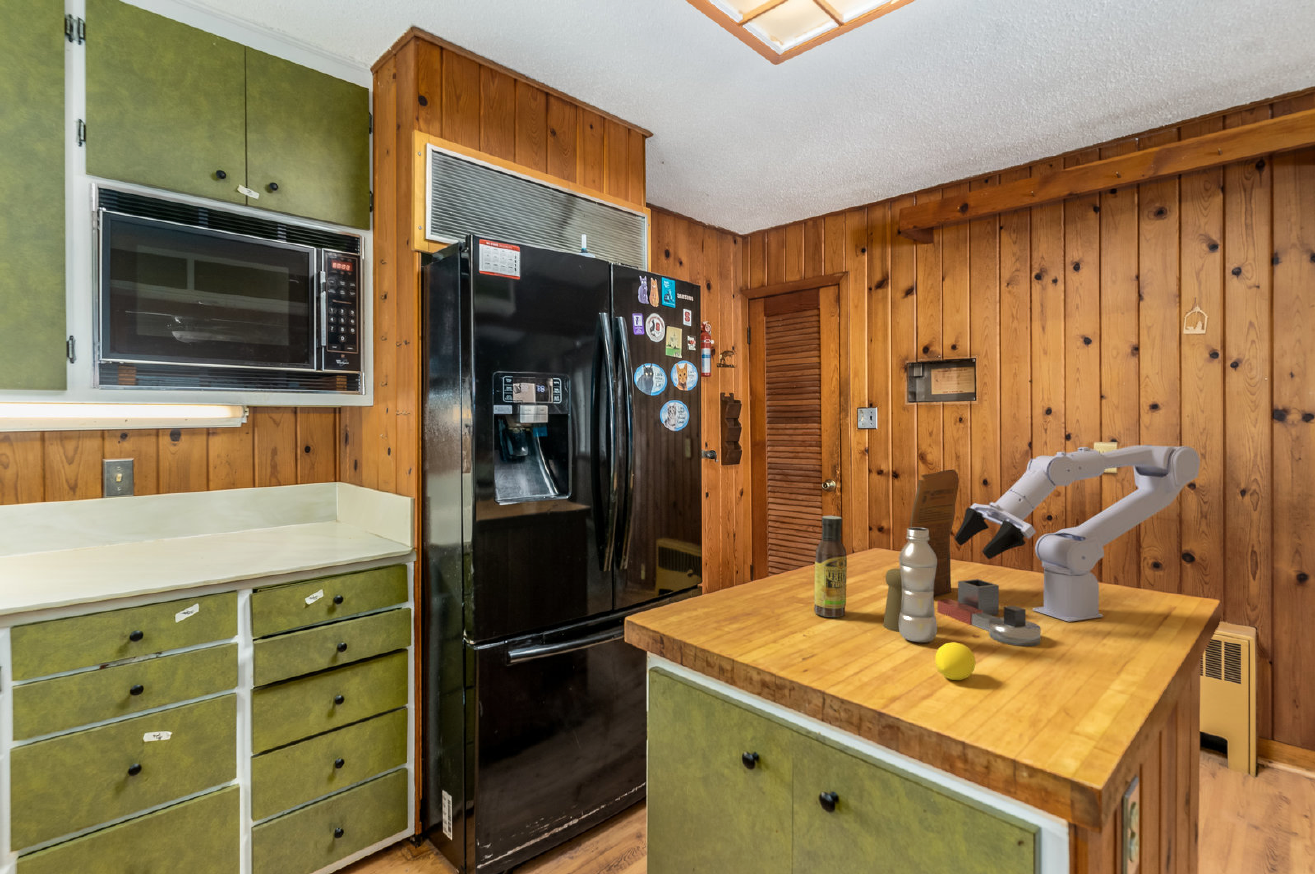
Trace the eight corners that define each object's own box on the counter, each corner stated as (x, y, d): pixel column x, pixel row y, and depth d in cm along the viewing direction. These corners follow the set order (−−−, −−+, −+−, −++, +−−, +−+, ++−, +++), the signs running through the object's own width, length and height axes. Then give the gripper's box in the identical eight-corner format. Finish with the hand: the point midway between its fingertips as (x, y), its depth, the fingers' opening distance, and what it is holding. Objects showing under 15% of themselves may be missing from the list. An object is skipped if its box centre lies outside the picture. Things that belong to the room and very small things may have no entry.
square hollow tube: (977, 607, 130) (977, 579, 130) (998, 614, 125) (998, 585, 125) (957, 609, 128) (958, 581, 128) (978, 617, 123) (978, 587, 123)
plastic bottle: (935, 635, 113) (935, 526, 113) (939, 648, 107) (939, 533, 106) (897, 632, 115) (897, 525, 115) (898, 644, 109) (899, 531, 108)
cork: (920, 633, 115) (920, 574, 114) (885, 631, 116) (885, 572, 116) (913, 622, 121) (913, 566, 120) (880, 620, 122) (880, 565, 122)
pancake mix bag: (969, 590, 143) (969, 469, 142) (920, 604, 132) (921, 473, 132) (941, 584, 149) (942, 467, 148) (892, 597, 138) (893, 471, 137)
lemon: (962, 692, 91) (960, 657, 90) (927, 680, 95) (925, 647, 95) (985, 674, 95) (983, 640, 94) (950, 663, 99) (948, 631, 99)
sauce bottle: (827, 620, 122) (827, 520, 122) (807, 611, 128) (807, 515, 127) (853, 616, 125) (853, 518, 124) (833, 608, 130) (833, 513, 130)
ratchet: (958, 609, 129) (958, 582, 129) (1051, 643, 109) (1051, 612, 109) (927, 613, 126) (927, 586, 126) (1016, 648, 107) (1016, 616, 106)
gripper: (982, 478, 129) (936, 523, 128) (1040, 497, 115) (989, 548, 114) (998, 501, 131) (952, 545, 130) (1057, 523, 117) (1007, 572, 116)
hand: (971, 548), depth 122 cm, fingers open, 7 cm apart
